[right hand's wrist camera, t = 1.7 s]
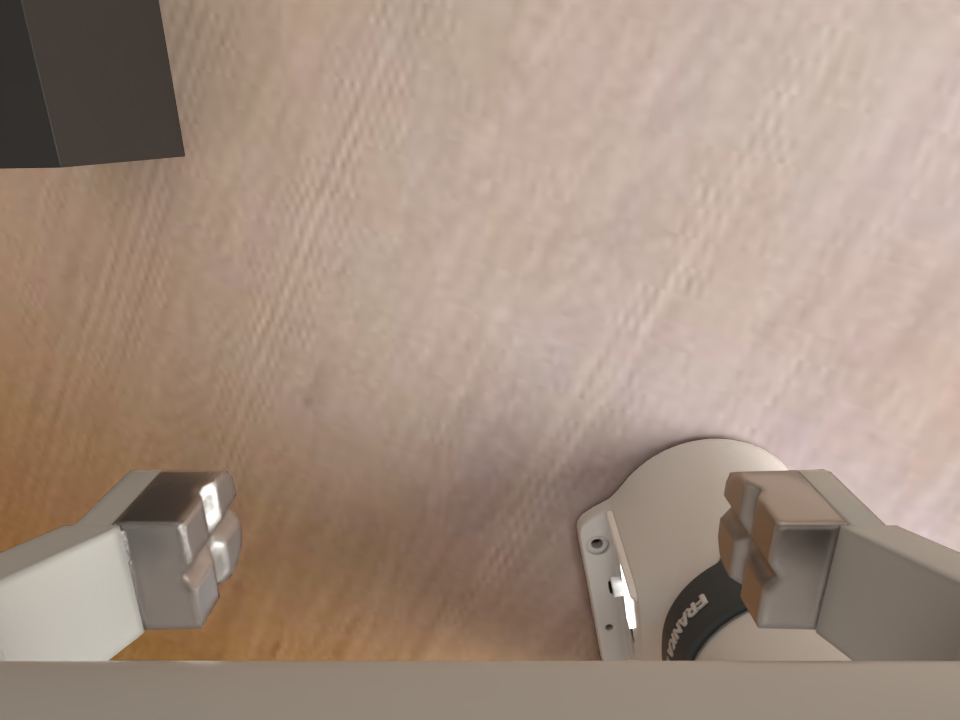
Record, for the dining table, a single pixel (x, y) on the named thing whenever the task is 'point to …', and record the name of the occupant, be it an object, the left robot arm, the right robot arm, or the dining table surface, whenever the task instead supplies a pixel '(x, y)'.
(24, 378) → the dining table surface
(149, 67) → the box
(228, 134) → the dining table surface
